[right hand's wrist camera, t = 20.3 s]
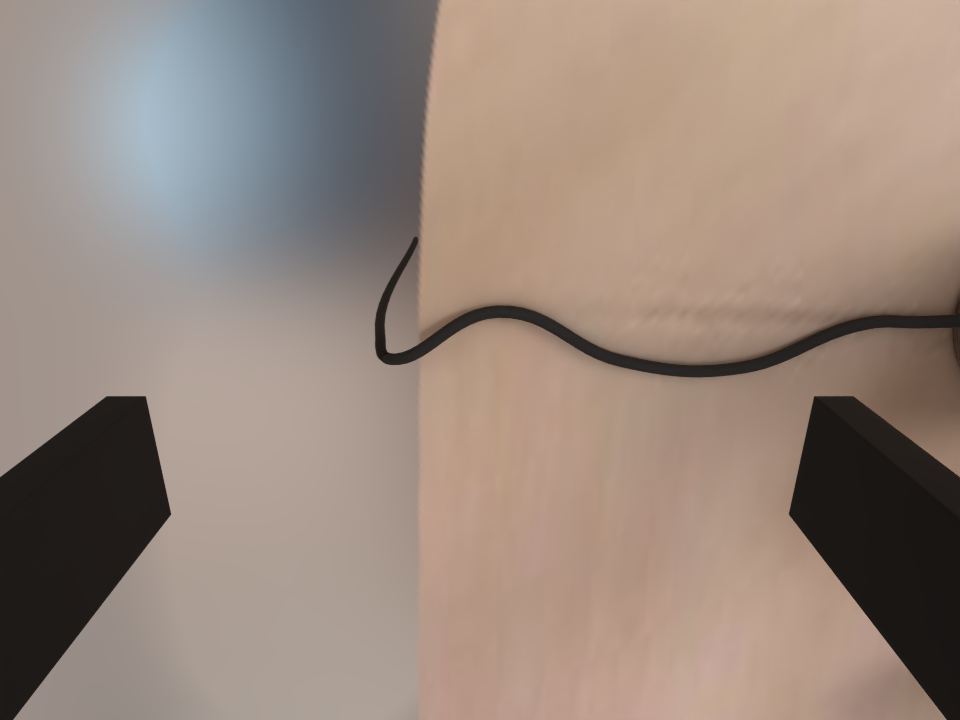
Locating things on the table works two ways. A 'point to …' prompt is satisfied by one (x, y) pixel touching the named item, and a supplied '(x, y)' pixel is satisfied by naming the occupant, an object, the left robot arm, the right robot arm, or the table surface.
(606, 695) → the table surface
